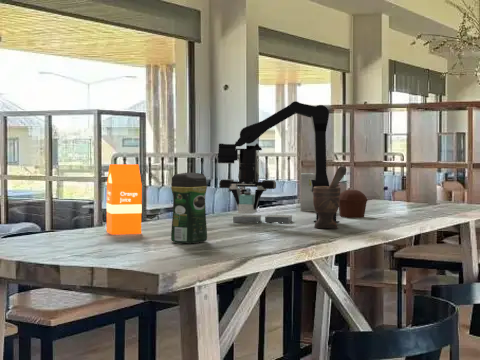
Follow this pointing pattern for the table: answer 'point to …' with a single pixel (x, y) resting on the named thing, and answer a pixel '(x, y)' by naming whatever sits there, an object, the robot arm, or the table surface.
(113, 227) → the orange juice
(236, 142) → the robot arm
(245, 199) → the housing
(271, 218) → the stand
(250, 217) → the stand
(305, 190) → the circuit breaker
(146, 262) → the table surface
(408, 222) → the table surface
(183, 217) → the coffee jar
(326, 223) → the mortar and pestle
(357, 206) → the muffin
